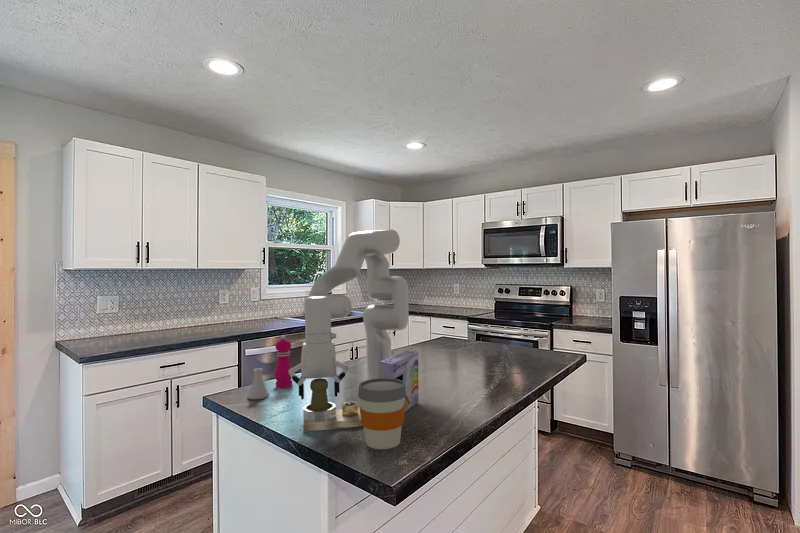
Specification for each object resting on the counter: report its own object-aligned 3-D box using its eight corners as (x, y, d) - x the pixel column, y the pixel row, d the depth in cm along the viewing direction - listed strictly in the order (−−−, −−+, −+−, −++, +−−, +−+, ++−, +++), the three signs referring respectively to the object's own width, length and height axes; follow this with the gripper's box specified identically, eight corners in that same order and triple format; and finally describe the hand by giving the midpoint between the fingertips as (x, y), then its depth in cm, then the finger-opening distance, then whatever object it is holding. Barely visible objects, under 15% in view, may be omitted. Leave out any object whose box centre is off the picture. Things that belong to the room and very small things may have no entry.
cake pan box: (391, 423, 118) (390, 362, 118) (376, 420, 121) (375, 361, 121) (420, 403, 135) (419, 350, 135) (407, 401, 137) (406, 349, 138)
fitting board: (363, 413, 126) (363, 407, 126) (367, 425, 117) (367, 418, 117) (304, 419, 123) (304, 412, 123) (303, 431, 113) (303, 424, 113)
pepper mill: (283, 389, 154) (282, 337, 154) (270, 387, 158) (269, 335, 158) (297, 384, 160) (296, 334, 160) (284, 382, 164) (283, 333, 164)
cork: (333, 414, 121) (333, 377, 121) (323, 421, 115) (323, 382, 115) (315, 412, 123) (315, 375, 123) (305, 419, 117) (304, 381, 117)
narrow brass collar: (357, 410, 123) (357, 400, 123) (359, 416, 119) (358, 405, 119) (341, 412, 122) (341, 401, 122) (342, 417, 118) (342, 406, 118)
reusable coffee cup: (369, 430, 113) (368, 376, 113) (412, 434, 110) (411, 379, 110) (351, 449, 101) (350, 389, 101) (399, 455, 98) (397, 392, 98)
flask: (262, 400, 141) (262, 372, 141) (243, 399, 143) (243, 371, 143) (272, 394, 148) (272, 367, 148) (254, 393, 150) (254, 366, 150)
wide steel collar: (334, 410, 124) (334, 400, 124) (336, 420, 115) (336, 410, 115) (303, 412, 122) (303, 403, 122) (303, 424, 113) (303, 413, 113)
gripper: (346, 334, 124) (347, 390, 124) (288, 337, 121) (289, 395, 121) (349, 338, 117) (350, 398, 117) (287, 342, 113) (288, 403, 113)
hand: (319, 396), depth 119 cm, fingers open, 9 cm apart
